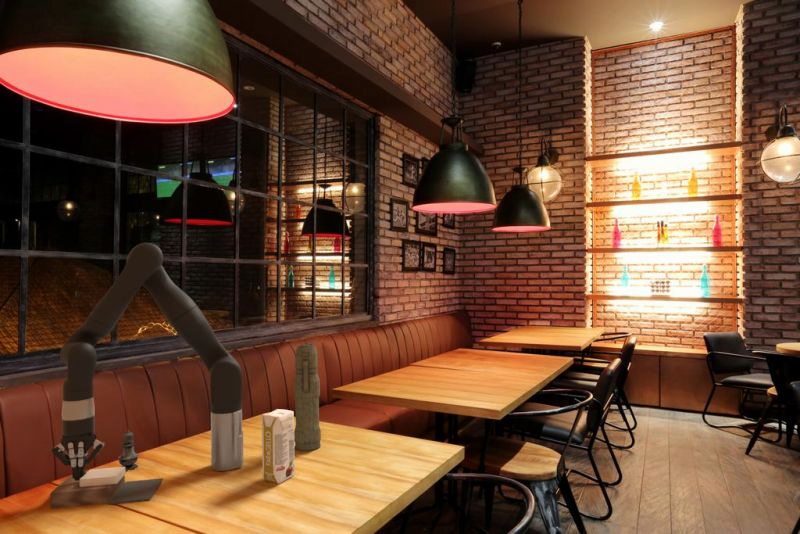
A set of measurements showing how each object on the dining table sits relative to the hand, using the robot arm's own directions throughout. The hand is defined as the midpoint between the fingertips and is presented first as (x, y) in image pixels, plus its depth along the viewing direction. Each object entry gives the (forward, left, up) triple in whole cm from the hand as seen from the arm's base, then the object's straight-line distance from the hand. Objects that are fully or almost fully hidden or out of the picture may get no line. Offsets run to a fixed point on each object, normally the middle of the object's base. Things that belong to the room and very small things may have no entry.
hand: (79, 479), depth 139 cm
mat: (-15, 0, -5) cm, 15 cm away
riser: (-3, 0, -5) cm, 5 cm away
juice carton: (-53, 0, -5) cm, 53 cm away
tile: (-6, 0, -1) cm, 6 cm away
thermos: (-62, -25, -5) cm, 67 cm away
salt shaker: (-7, -20, -5) cm, 22 cm away
